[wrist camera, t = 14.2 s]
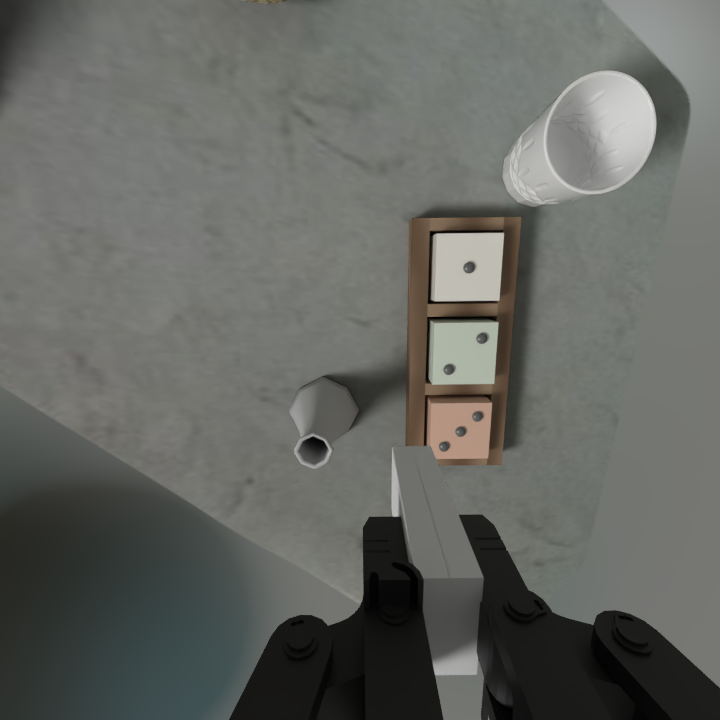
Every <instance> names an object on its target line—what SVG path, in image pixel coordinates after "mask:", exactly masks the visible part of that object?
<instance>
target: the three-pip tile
mask: <svg viewBox="0 0 720 720" xmlns="http://www.w3.org/2000/svg"><path fill="white" fill-rule="evenodd" d="M491 412H492V402H491V401H490V400H489V399H488V398H487V397H486V396H485V395H484V394H478V395H426V409H425V444H424V445H425V446H431V448H432V450H433V453H434V455H435V458H436V459H484V458H488V455H489V441H490V426H491Z"/></svg>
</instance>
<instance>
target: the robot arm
mask: <svg viewBox="0 0 720 720" xmlns="http://www.w3.org/2000/svg"><path fill="white" fill-rule="evenodd" d="M392 515H393V517H369V518H368V520H367V522H366V523H365V525H364V527H363V580H364V594H363V601H362V603H361V605H360V607H359V608H358V610H357V611H356V612H355V613H354V614H353V615H352V616H350V617H349V618H348V619H345V620H343V621H341V622H339V623H335V624H333V625H329V626H328V625H327V624H326V623H325V622H324V621H323V620H322V619H319V618H317V617H314V616H312V615H299V616H296V617H293V618H289V619H288V620H286V621H285V622H284V623H282V624H281V625H279V626H278V627H277V629H276V630H275V632H274V633H273V634H272V636H271V637H270V639H269V641H268V643H267V646H266V648H265V649H264V652H263V654H262V655H261V658H260V659H259V661H258V663H257V665H256V667H255V669H254V671H253V673H252V675H251V677H250V679H249V681H248V683H247V685H246V687H245V689H244V691H243V693H242V695H241V697H240V699H239V701H238V703H237V705H236V707H235V709H234V711H233V713H232V715H231V717H230V719H229V720H443V716H442V710H441V705H440V700H439V694H438V689H437V684H436V679H435V675H476V674H477V663H478V659H479V662H480V665H481V668H482V672H483V675H484V684H483V697H482V709H481V720H488V716H489V719H490V720H720V688H719V687H718V686H717V685H716V684H715V683H714V682H712V681H711V680H710V679H709V678H708V677H707V676H706V675H705V674H703V672H702V671H701V670H699V669H698V668H697V667H696V666H695V665H694V664H693V663H692V662H691V661H690V660H689V659H687V658H686V657H685V656H684V655H683V654H682V653H681V652H680V651H679V650H677V648H675V647H674V646H673V645H672V644H671V643H670V642H669V641H668V640H666V638H664V637H663V636H662V635H661V634H660V633H659V632H658V631H657V630H656V629H654V628H653V627H651V626H650V625H649V624H647V623H646V622H645V621H643V620H641V619H639V618H637V617H635V616H633V615H631V614H628V613H624V612H620V611H604V612H602V613H600V614H598V615H597V617H596V619H595V622H594V625H591V624H587V623H583V622H579V621H575V620H572V619H568V618H565V617H562V616H559V615H557V614H555V613H553V612H552V611H551V609H550V608H549V606H548V605H547V604H546V603H545V601H544V600H543V599H541V598H540V597H539V596H537V595H536V594H535V593H533V592H531V591H529V590H528V589H527V587H526V585H525V583H524V581H523V579H522V577H521V576H520V574H519V572H518V570H517V568H516V566H515V564H514V562H513V560H512V558H511V557H510V555H509V553H508V551H506V547H505V545H504V543H503V541H502V540H501V537H500V536H499V534H498V532H497V530H496V528H495V526H494V525H493V524H492V523H491V522H490V521H489V520H488V519H486V518H485V517H484V516H483V515H458V512H457V510H456V507H455V505H454V502H453V500H452V497H451V495H450V492H449V490H448V487H447V485H446V482H445V480H444V477H443V475H442V472H441V470H440V468H439V465H438V463H437V460H436V458H435V455H434V453H433V450H432V448H431V446H392Z"/></svg>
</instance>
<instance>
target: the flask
mask: <svg viewBox="0 0 720 720" xmlns="http://www.w3.org/2000/svg"><path fill="white" fill-rule="evenodd" d="M358 411H359V409H358V407H357V405H356V403H355V401H354V400H353V398H352V396H351V394H350V392H349V391H348V389H347V387H344V386H342V385H340V384H338V383H336V382H333V381H331V380H329V379H327V378H325V377H321V378H319V379H317V380H315V381H313V382H311V383H309V384H307V385H305V386H303V387H301V388H299V390H298V393H297V395H296V397H295V399H294V401H293V403H292V406H291V408H290V410H289V412H290V414H291V416H292V418H293V419H294V421H295V423H296V425H297V427H298V429H299V431H300V439H299V441H298V443H297V445H296V447H295V449H294V453H295V454H296V456H297V458H298V459H299V461H300V462H301V464H304V465H306V466H308V467H311V468H313V469H316V468H318V467H320V466H322V465H324V464H327V463H328V461H329V459H330V457H331V455H332V453H333V451H334V449H333V447H332V445H331V443H333V442H334V441H335V440H336V439H338V438H339V437H341V436H342V435H344V434H346V433H347V432H348V431H349V429H350V427H351V425H352V423H353V421H354V419H355V417H356V415H357V413H358Z"/></svg>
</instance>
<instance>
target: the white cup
mask: <svg viewBox="0 0 720 720" xmlns="http://www.w3.org/2000/svg"><path fill="white" fill-rule="evenodd" d="M656 127H657V120H656V112H655V107H654V104H653V101H652V99H651V97H650V95H649V93H648V92H647V90H646V89H645V88H644V86H643V85H642V84H641V83H640V82H639V81H637V80H636V79H635V78H633V77H631V76H630V75H628V74H625V73H622V72H618V71H611V70H605V71H598V72H594V73H590V74H588V75H585V76H583V77H581V78H579V79H578V80H576V81H575V82H573V83H572V84H571V85H570V86H568V87H567V88H566V89H565V90H564V91H563V92H562V93H561V94H560V95H559V96H558V97H557V98H556V99H555V100H554V101H553V102H552V103H551V104H550V105H549V106H548V107H547V108H546V109H545V110H544V111H543V112H542V113H541V114H540V115H539V116H538V117H537V118H536V119H535V120H534V121H533V122H532V124H531V125H530V126H529V127H528V128H527V129H526V130H525V131H524V132H523V134H522V135H521V136H520V137H519V138H518V139H517V140H516V141H515V142H514V143H513V144H512V146H511V148H510V150H509V152H508V153H507V155H506V157H505V159H504V165H503V174H502V177H503V180H504V183H505V186H506V190H507V192H508V193H509V194H510V195H511V196H512V197H513V198H514V199H515V200H516V201H517V202H518V203H521V204H524V205H527V206H531V207H536V206H541V205H546V204H557V203H562V202H566V201H573V200H577V199H580V198H584V197H589V196H593V195H597V194H601V193H606V192H609V191H612V190H614V189H616V188H618V187H620V186H622V185H623V184H625V183H626V182H628V181H629V180H630V179H631V178H632V177H634V176H635V175H636V174H637V172H638V171H639V170H640V169H641V168H642V166H643V165H644V163H645V162H646V160H647V158H648V156H649V154H650V152H651V150H652V147H653V144H654V140H655V136H656Z"/></svg>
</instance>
